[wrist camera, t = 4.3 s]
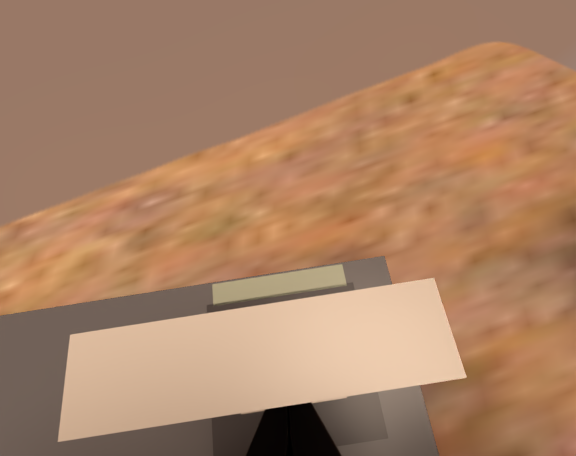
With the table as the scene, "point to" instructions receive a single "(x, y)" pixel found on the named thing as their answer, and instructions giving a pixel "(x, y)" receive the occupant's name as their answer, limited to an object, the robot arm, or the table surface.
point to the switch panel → (206, 432)
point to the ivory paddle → (257, 359)
